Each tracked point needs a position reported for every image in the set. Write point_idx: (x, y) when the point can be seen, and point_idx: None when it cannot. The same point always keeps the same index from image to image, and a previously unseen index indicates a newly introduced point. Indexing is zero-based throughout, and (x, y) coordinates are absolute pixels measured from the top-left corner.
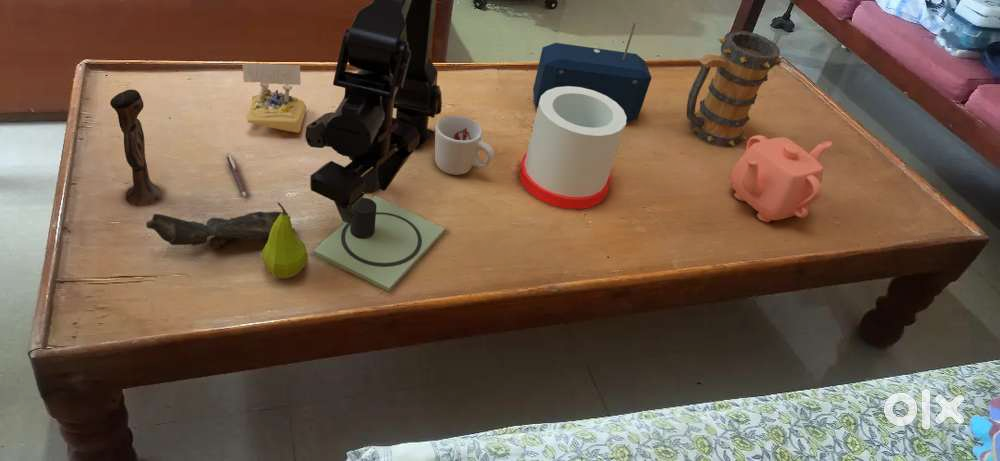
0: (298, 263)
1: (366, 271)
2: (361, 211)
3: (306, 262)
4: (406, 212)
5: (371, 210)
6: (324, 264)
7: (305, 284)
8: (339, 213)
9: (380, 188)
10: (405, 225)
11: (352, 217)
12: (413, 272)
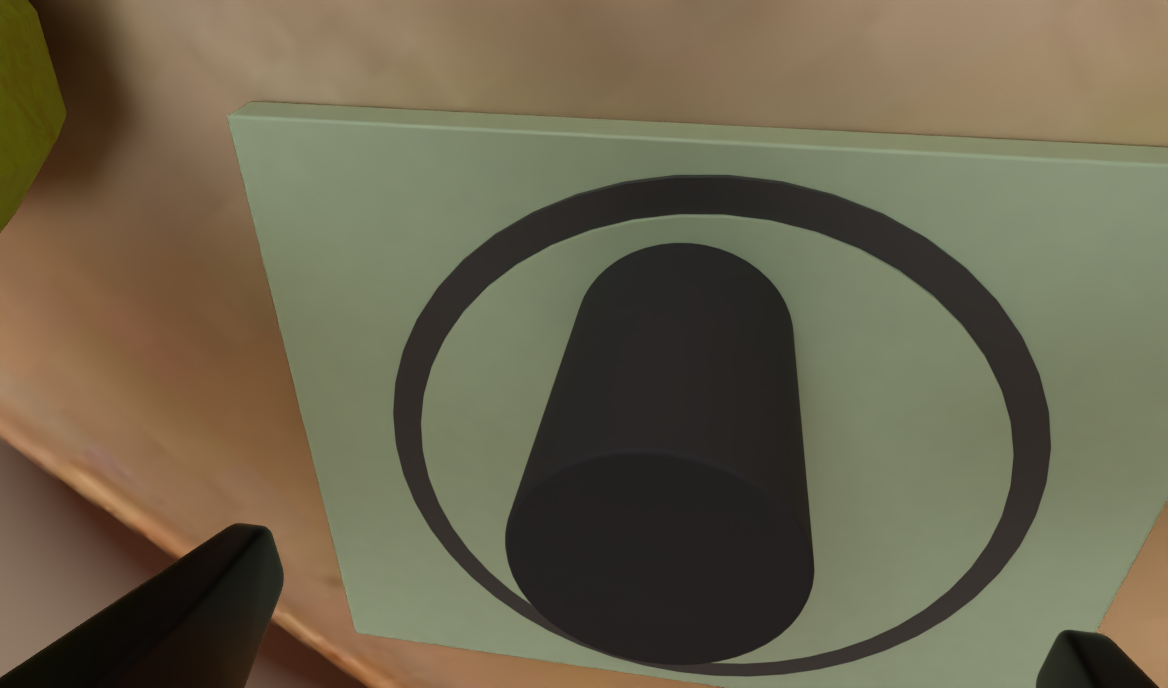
0: None
1: (361, 508)
2: (541, 581)
3: (10, 218)
4: (1128, 511)
5: (624, 647)
6: (246, 233)
7: (26, 230)
8: (124, 597)
9: (1057, 664)
10: (934, 560)
11: (241, 680)
12: None
